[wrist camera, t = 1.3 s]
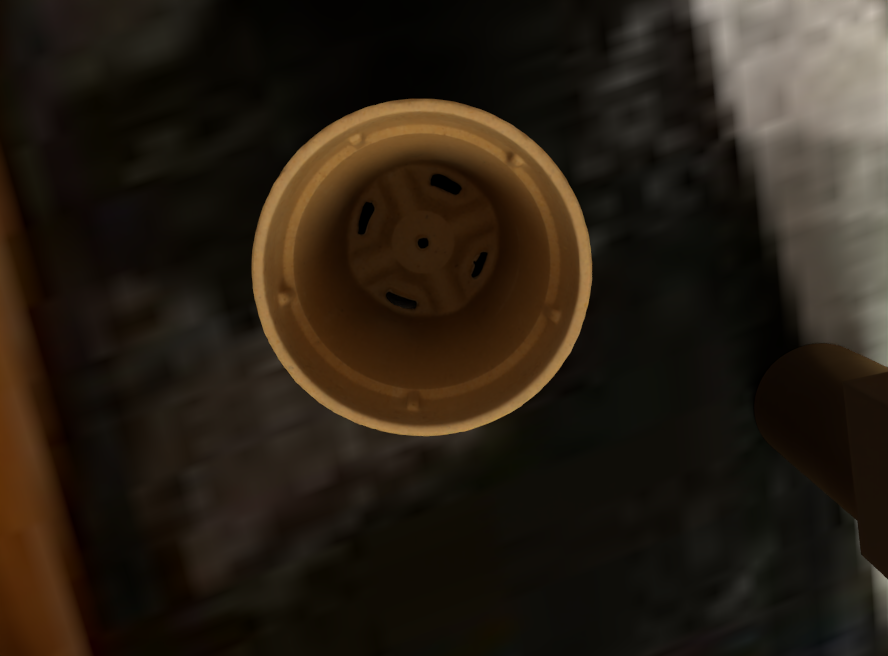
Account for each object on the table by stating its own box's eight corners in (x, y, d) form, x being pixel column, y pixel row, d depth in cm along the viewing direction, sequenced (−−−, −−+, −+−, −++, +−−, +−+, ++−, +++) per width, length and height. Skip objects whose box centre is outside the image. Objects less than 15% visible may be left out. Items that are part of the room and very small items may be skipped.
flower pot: (546, 110, 28) (594, 91, 20) (547, 353, 30) (591, 430, 22) (294, 119, 28) (234, 105, 20) (313, 362, 30) (267, 443, 22)
